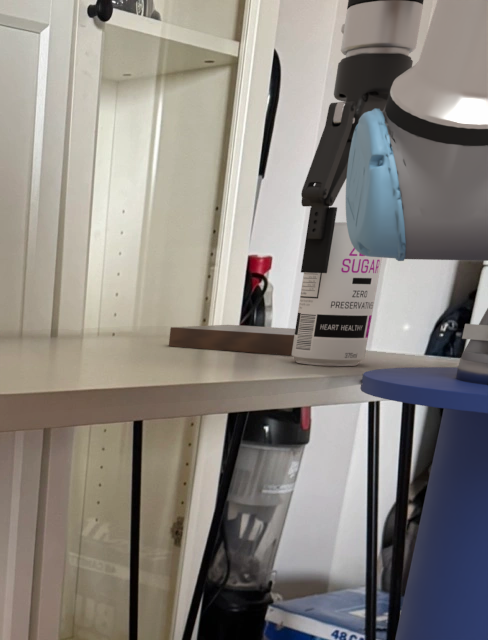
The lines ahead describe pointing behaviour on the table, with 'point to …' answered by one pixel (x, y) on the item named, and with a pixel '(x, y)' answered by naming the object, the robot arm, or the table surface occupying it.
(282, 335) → the walnut board
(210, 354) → the table surface
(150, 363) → the table surface
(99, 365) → the table surface
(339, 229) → the supplement can
